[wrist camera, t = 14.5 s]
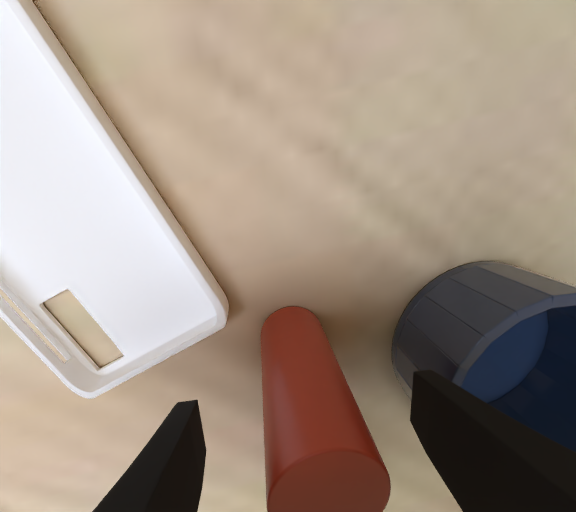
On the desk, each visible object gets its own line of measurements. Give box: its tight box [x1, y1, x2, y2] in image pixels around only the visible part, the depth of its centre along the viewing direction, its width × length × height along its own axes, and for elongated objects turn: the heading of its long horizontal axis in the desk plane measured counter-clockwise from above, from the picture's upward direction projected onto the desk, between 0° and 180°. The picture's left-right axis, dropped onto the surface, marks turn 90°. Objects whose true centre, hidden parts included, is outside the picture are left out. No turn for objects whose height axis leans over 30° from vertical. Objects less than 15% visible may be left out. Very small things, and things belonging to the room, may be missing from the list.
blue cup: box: [392, 261, 576, 452], centre depth 13 cm, size 9×9×4 cm
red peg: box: [261, 306, 391, 512], centre depth 10 cm, size 3×3×8 cm
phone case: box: [0, 0, 229, 399], centre depth 11 cm, size 7×1×15 cm
